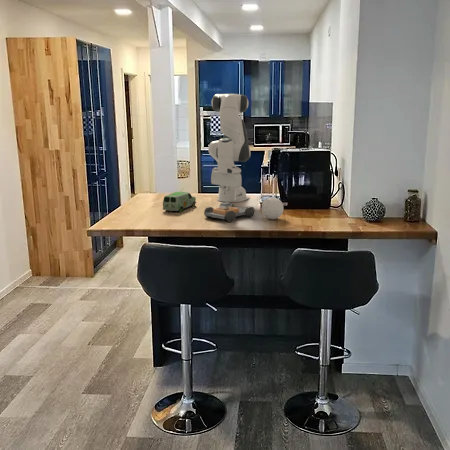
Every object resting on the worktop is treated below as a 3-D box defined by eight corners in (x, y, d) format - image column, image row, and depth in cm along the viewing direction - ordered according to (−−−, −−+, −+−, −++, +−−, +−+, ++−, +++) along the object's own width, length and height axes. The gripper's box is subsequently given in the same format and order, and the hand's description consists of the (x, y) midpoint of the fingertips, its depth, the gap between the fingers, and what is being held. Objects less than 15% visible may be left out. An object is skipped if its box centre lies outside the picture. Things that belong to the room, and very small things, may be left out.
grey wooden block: (226, 210, 285) (226, 201, 284) (232, 211, 282) (232, 202, 281) (219, 212, 281) (219, 203, 280) (224, 213, 278) (224, 204, 277)
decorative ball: (257, 217, 283) (257, 196, 280) (276, 215, 288) (276, 195, 285) (267, 222, 272) (268, 200, 270) (287, 220, 277) (287, 198, 274)
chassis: (232, 211, 299) (232, 201, 298) (255, 216, 287) (255, 205, 286) (202, 218, 282) (202, 207, 281) (226, 223, 270) (226, 212, 269)
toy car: (196, 206, 317) (196, 190, 315) (177, 213, 295) (177, 196, 293) (181, 204, 322) (181, 189, 319) (161, 212, 299) (161, 195, 297)
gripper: (208, 167, 281) (208, 192, 284) (235, 170, 267) (235, 196, 270) (216, 166, 285) (216, 191, 288) (243, 169, 271) (243, 195, 275)
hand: (225, 193), depth 279 cm, fingers closed
